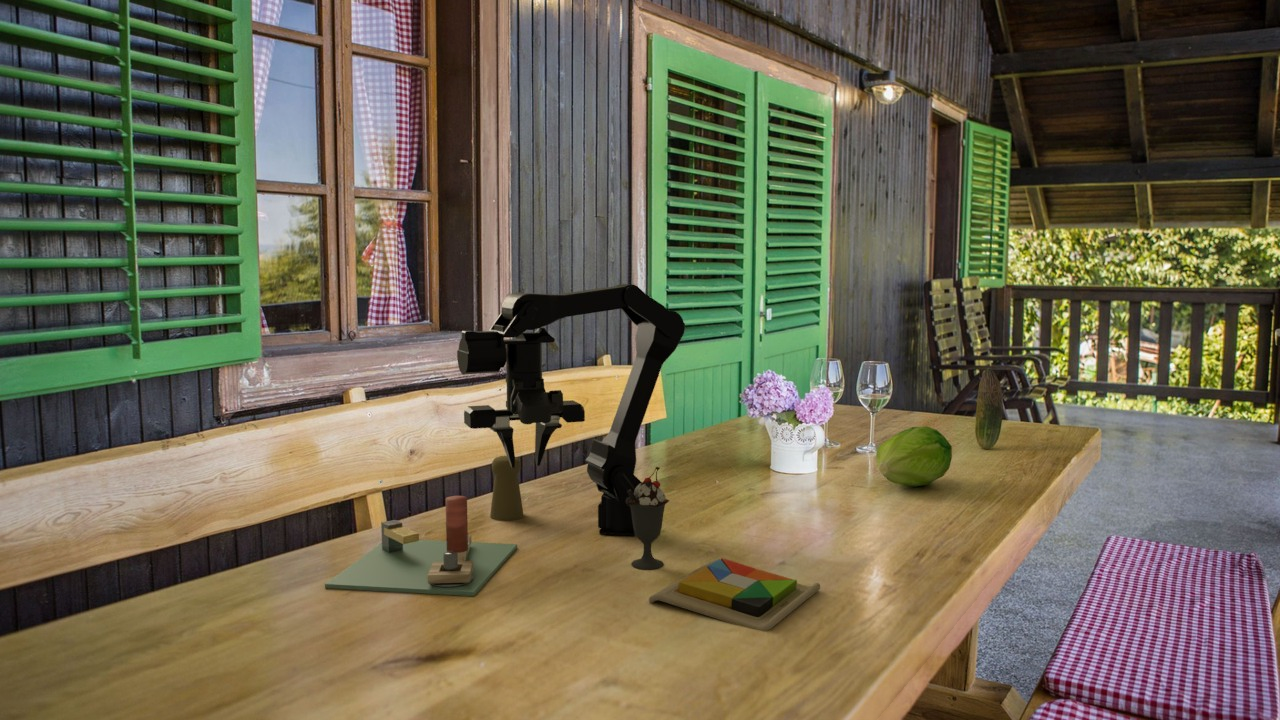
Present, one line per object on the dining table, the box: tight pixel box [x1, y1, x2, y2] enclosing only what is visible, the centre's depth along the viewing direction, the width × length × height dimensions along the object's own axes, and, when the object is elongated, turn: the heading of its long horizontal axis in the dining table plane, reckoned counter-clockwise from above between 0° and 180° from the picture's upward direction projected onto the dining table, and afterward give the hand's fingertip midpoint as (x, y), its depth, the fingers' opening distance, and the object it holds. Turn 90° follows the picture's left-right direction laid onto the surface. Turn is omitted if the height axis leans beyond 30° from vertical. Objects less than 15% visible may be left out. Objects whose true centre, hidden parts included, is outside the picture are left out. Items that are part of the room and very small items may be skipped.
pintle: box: [429, 551, 474, 588], centre depth 135 cm, size 6×6×5 cm
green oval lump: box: [875, 426, 953, 488], centre depth 191 cm, size 14×20×12 cm
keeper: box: [380, 519, 420, 553], centre depth 147 cm, size 8×3×5 cm, turn 41°
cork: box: [489, 455, 525, 522], centre depth 170 cm, size 6×6×11 cm
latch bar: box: [428, 495, 473, 583], centre depth 141 cm, size 19×6×9 cm, turn 5°
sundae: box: [626, 466, 670, 571], centre depth 143 cm, size 7×7×15 cm
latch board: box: [324, 539, 518, 597], centre depth 143 cm, size 22×22×1 cm
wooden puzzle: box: [648, 557, 821, 632], centre depth 130 cm, size 18×19×4 cm
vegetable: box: [974, 367, 1004, 450], centre depth 230 cm, size 6×6×20 cm
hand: (525, 466), depth 152 cm, fingers open, 4 cm apart
